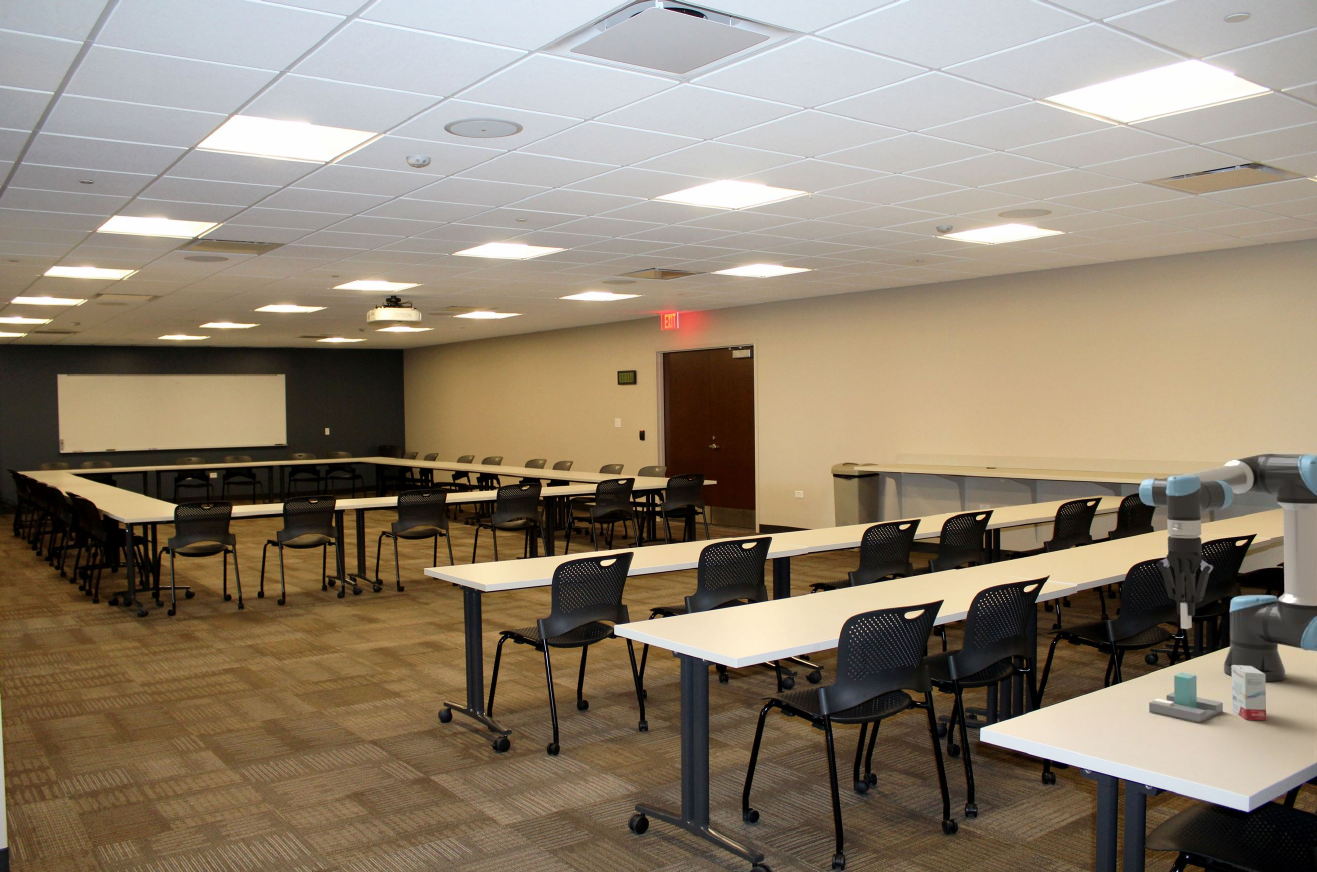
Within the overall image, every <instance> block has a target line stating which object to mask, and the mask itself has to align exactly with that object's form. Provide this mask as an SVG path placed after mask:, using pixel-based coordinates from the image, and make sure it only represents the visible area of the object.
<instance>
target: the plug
mask: <svg viewBox="0 0 1317 872" xmlns="http://www.w3.org/2000/svg"><path fill="white" fill-rule="evenodd" d="M1173 677H1174V678H1173V680H1174V681H1173V684H1174V685H1173V686H1174V687H1173V688H1174V704H1179V705H1183V706H1188V707H1193V708H1197V697H1198V696H1197V694H1198V693H1197V692H1198V691H1197V689H1198V688H1197V674H1191V673H1185V672H1180V673H1177V674H1175V675H1174V676H1173Z"/></svg>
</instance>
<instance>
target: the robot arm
mask: <svg viewBox="0 0 1317 872" xmlns="http://www.w3.org/2000/svg"><path fill="white" fill-rule="evenodd" d="M1245 493H1253V494H1262V495H1263V494H1265V495H1273V496H1274V495H1276V503H1277V504H1278V505H1279V506H1281V508H1282V509H1283V512H1282V514H1283V518H1282V519H1283V573H1284V574H1283V575H1284V576H1283V577H1284V580H1283V581H1284V586H1283V587H1284V589H1283V590H1284V592H1283V594H1282V595H1280V596H1279V597H1277V596H1275V595H1269V594H1266V595H1265V594H1255V595H1254V594H1251V595H1250V594H1249V595H1238V596H1235V597H1233V598H1232V599H1231V600H1230V606H1229V607H1230V608H1229V618H1230V619H1229V622H1230V625H1229V626H1230V627H1229V628H1230V634H1229V635H1230V647H1229V649H1228V652H1227V655H1226V657H1225V659H1224V663H1223V673H1225V674H1226V675H1228V676H1230V677H1232V665H1242V666H1252V667H1254V668H1256V669H1257V670H1259V671H1261V672H1262V673H1264V674H1265V681H1266V682H1280V681H1284V680H1285V679H1286V669H1285V666H1284V664H1283V661H1282V658H1281V656H1280V653H1279V647H1278V646H1279V645H1283V646H1287V647H1291V648H1295V649H1302V650H1304V651H1310V652H1311V651H1312V652H1317V454H1310V453H1309V454H1308V453H1304V454H1300V453H1298V454H1297V453H1295V454H1294V453H1293V454H1291V453H1290V454H1288V453H1262V454H1256V455H1252V456H1251V455H1250V456H1247V457H1244V458H1239V459H1233V460H1231V461H1228V462H1226V463H1225V464H1224V465H1221V466H1219V467H1213V468H1209V469H1204V470H1198V471H1195V472H1189V473H1185V474H1182V475H1170V476H1169V477H1165V478H1157V477H1154V478H1145V479H1144V480H1143V481H1142V482H1141V483H1140V486H1139V488H1138V494H1139V499H1140V501H1141V502H1142V503H1143V505H1144V504H1145V505H1146V506H1152V507H1155V508H1157V507H1165V508H1167V509H1166V510H1167V512H1166V513H1167V515H1166V516H1167V517H1166V518H1167V519H1166V520H1167V525H1166V526H1167V534H1168V535H1169V536H1168V537H1167V550H1168V551H1167V555H1166V556H1165V558H1164V559H1162V560H1159V561H1157V562H1156V564H1157V566H1158V568H1159V569H1160V570H1161V574H1162V578H1163V583H1164V585H1165V589H1166V592H1167V597H1168V598H1169V599H1171V600H1173V601H1175V602H1176V613H1177V615H1180V629H1184V630H1188V629H1191V628H1192V626H1193V625H1192V617H1193V616H1195V615H1196V603H1198V602H1202V601H1203V600H1204V597H1205V593H1206V589H1207V585H1208V582H1209V578H1210V574H1211V573H1212V572H1213V569H1214V568H1215V567H1214V565H1213V564H1208V563H1207V562H1206V561H1205V559H1204V557H1203V555H1202V551H1203V550H1202V538H1201V537H1200V536H1201V535H1202V517H1201V515H1202V512H1204V511H1219V510H1222V509H1226V508H1228V507H1229V506H1230V505H1231V504H1232V503H1233V501H1234V496H1235V495H1234V494H1238V495H1240V494H1245ZM1170 566H1171V567H1172V569H1173V570H1174V571H1173V572H1174V573H1173V574H1174V577H1175V578H1174V577H1173V575H1172V571H1171V568H1170ZM1199 568H1200V570H1201V572H1200V574H1199V578H1198V582H1197V585H1196V574H1197V570H1198V569H1199ZM1174 579H1175V582H1174ZM1185 587H1186V588H1185ZM1185 596H1186V598H1185Z"/></svg>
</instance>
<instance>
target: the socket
mask: <svg viewBox="0 0 1317 872" xmlns="http://www.w3.org/2000/svg"><path fill="white" fill-rule="evenodd" d="M1223 707H1224V703H1223V701H1218V700H1212V699H1207V698H1202V697H1198V696H1197V708H1193V707H1188V706H1183V705H1179V704H1174V692H1171V693H1169V694H1166V699H1162V698H1156V699H1154V700H1152V701H1150V702H1148V708H1149V709H1148V710H1149V713H1152V714H1156V715H1161V716H1166V717H1170V718H1174V719H1179V720H1182V721H1183V720H1184V721H1189V722H1192V723H1197V724H1201V723H1203V722H1205V721H1207V720H1209V719H1211V718H1214V717H1215V716H1217V715H1219V714H1221V713H1223V712H1224V711H1223V710H1224V708H1223Z"/></svg>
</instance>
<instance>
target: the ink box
mask: <svg viewBox="0 0 1317 872" xmlns="http://www.w3.org/2000/svg"><path fill="white" fill-rule="evenodd" d="M1266 682H1267V681H1265V674H1264V673H1262V672H1261V671H1259V670H1257V669H1256V668H1254V667H1252V666H1242V665H1232V676H1231V710H1232V711H1233V712H1235V713H1236V714H1237V715H1239V716H1240V717H1242V718H1243V719H1245V720H1247V721H1267V696H1266V695H1267V691H1266V690H1267V689H1266V688H1267V687H1266V685H1267V684H1266Z"/></svg>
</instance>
